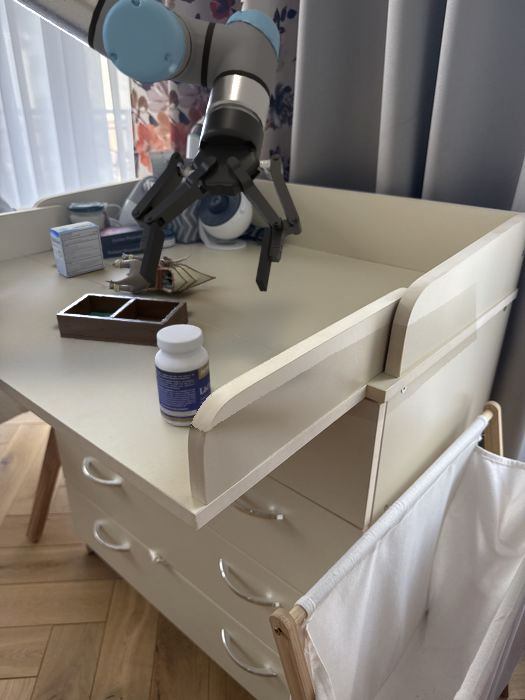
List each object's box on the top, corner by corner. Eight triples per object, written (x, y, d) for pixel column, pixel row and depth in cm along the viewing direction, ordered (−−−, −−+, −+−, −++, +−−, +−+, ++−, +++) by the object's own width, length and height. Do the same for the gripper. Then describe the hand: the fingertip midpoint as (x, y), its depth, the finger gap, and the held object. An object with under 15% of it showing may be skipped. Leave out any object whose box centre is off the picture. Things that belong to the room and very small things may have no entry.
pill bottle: (214, 425, 58) (208, 342, 54) (160, 430, 58) (150, 347, 53) (210, 397, 64) (204, 319, 59) (160, 402, 63) (151, 323, 58)
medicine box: (94, 263, 109) (87, 220, 105) (105, 268, 106) (98, 224, 102) (57, 272, 104) (48, 228, 100) (67, 278, 101) (58, 232, 97)
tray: (166, 347, 75) (163, 324, 74) (60, 336, 79) (55, 314, 77) (188, 322, 83) (186, 301, 81) (91, 313, 86) (87, 293, 85)
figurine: (148, 240, 104) (230, 248, 99) (150, 271, 107) (230, 280, 102) (85, 266, 87) (180, 277, 82) (89, 302, 89) (182, 315, 84)
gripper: (337, 147, 68) (315, 303, 62) (152, 145, 74) (116, 288, 67) (333, 103, 61) (308, 274, 55) (129, 105, 67) (86, 260, 60)
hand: (202, 282), depth 61 cm, fingers open, 13 cm apart
